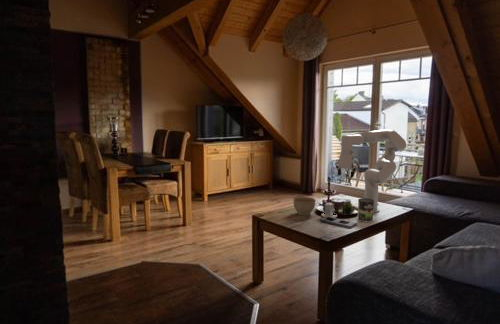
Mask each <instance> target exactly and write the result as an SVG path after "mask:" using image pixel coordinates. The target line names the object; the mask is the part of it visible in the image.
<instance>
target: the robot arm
mask: <svg viewBox="0 0 500 324" xmlns="http://www.w3.org/2000/svg"><path fill="white" fill-rule="evenodd" d="M340 141H341V145H340V148H341V149H340V154H339V158H338V162H335V163H334V165H335V168H336V169H337V176H341V175H342V169H348V170H350V178H354V176H355V171H357V169H358V165H357V164H356V163H355V158H354V150H353V146H361V145H363V144H364V143H366V144H374V143H380V142H384V148H385V149H384V152H383V154H382V156H381V157H380V158H379V159H378V160H377V161H376V162H375V163H374V168H368V169H366V170H365V172H364V174H363V178H364V198H367V199H372V200H374V206H373V214H374V213H379V212H380V209H379V208H378V206H379V203H378V202H379V185H383V184H385V183H386V182H387V181H388V180H389V179H390V178H391V177H392V176H393V174H394V173H395V172H396V169H397V164H396V162H395V161H394V160H395V159H396V151H398V152H401V151H404V150H405V149H407V142H406V140H405V139H404V138H403V137H402V135H400V133H398V132H397V131H395V130H394V129H387V128H385V129H378V130H370V131H360V132H352V133H348V134H343V135H341V140H340Z"/></svg>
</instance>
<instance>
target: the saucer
mask: <svg viewBox="0 0 500 324" xmlns="http://www.w3.org/2000/svg"><path fill="white" fill-rule="evenodd" d="M324 213H325V212H323V213H321V215H320V216H321V217H322V218H325V217H327V215H325V214H324ZM329 217H333V218H337V217H338V214H336V215H332V216H329Z"/></svg>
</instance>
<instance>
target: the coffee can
mask: <svg viewBox="0 0 500 324" xmlns="http://www.w3.org/2000/svg"><path fill="white" fill-rule="evenodd" d="M357 200H358V202H357V204H358V205H357V206H358V207H357V220H358V221H359V222H363V223H371V222H373V220H374V213H373V206H374V200H372V199H367V198H359V199H357Z"/></svg>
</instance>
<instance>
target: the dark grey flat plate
mask: <svg viewBox="0 0 500 324" xmlns="http://www.w3.org/2000/svg"><path fill="white" fill-rule="evenodd" d="M320 222H322V223H325V224H329V225H334V226H338V227H342V228H346V229H352V228H354V227H356V226H357V224H358V223H357V222H354V221H349V220H346V219H341V218H337V217H336V218H333V217H329V216H327V217H325V218H324V217H322V218H320Z"/></svg>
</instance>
